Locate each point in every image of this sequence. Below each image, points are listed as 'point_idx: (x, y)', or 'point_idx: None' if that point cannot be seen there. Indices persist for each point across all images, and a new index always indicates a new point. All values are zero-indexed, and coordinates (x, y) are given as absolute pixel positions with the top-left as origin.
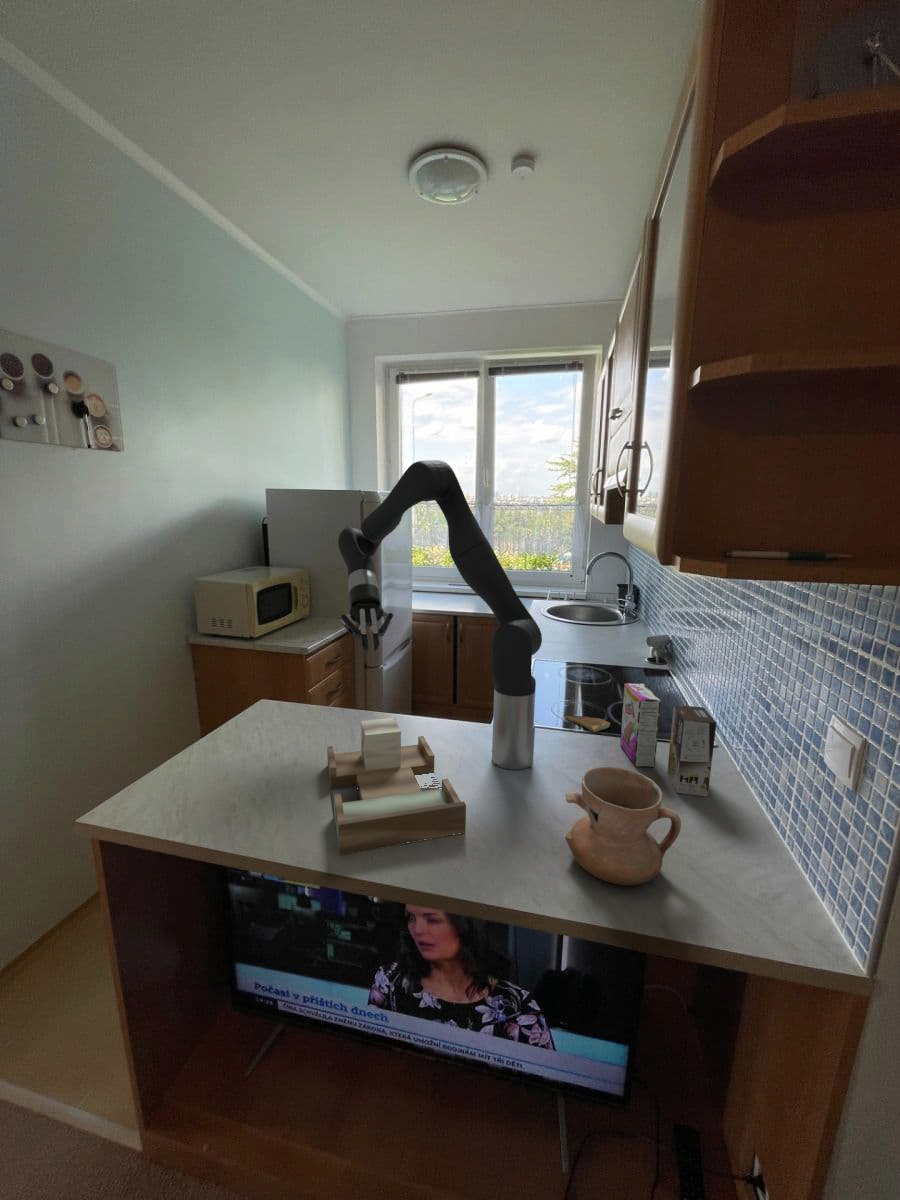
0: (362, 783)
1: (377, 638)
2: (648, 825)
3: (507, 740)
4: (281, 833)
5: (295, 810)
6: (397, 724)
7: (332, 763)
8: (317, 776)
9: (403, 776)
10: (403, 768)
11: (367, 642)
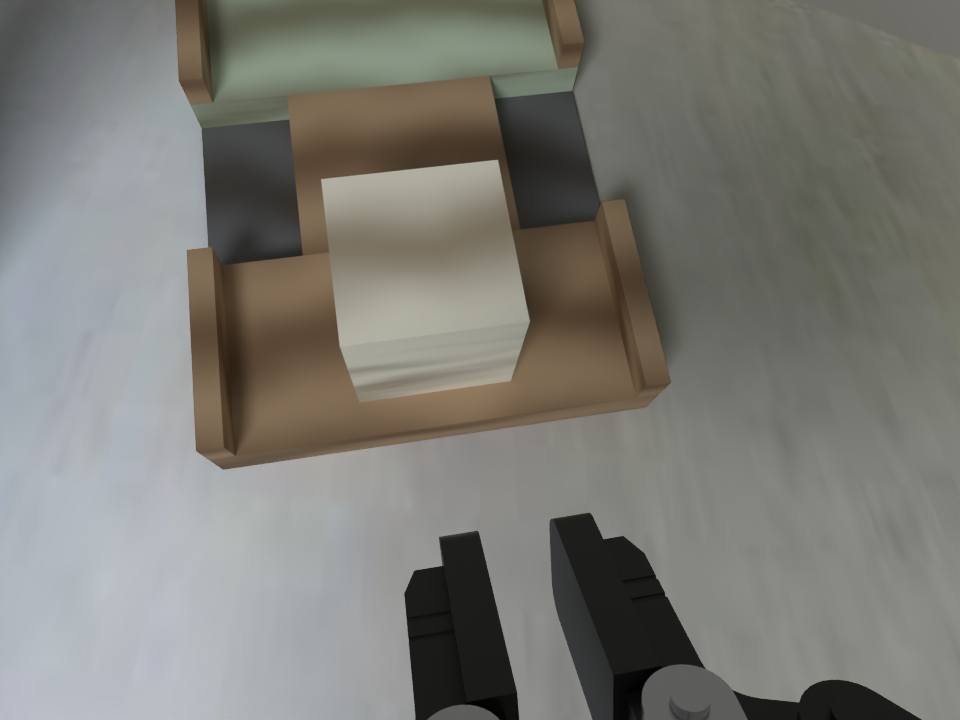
0: None
1: (428, 675)
2: None
3: None
4: (704, 46)
5: (694, 138)
6: (330, 258)
7: (621, 233)
8: (669, 327)
9: None
10: None
11: (576, 562)
